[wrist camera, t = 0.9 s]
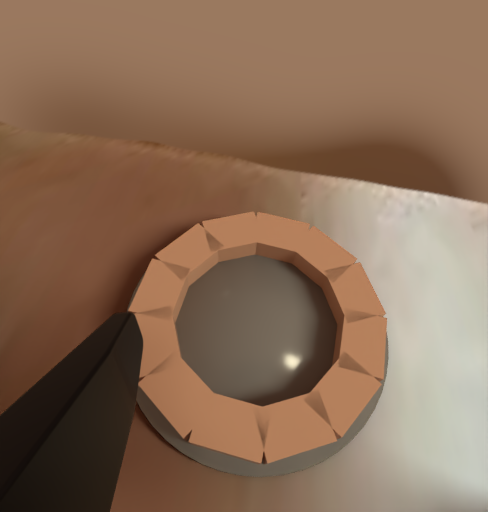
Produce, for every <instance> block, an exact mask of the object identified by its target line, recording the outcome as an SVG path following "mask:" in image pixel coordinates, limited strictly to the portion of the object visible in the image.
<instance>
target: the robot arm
mask: <svg viewBox="0 0 488 512" xmlns="http://www.w3.org/2000/svg"><path fill="white" fill-rule="evenodd" d="M142 353H143V337H142V334H141V331H140V328H139V325H138V322H137V319H136V316H135V315H134V313H132V312H120V313H115V314H113V315H112V316H111V317H110V318H109V319H108V320H106V321H105V322H104V323H103V324H102V325H101V326H100V327H99V328H97V329H96V330H95V331H94V332H93V333H92V334H91V335H90V336H88V337H87V338H86V339H85V340H84V341H83V342H82V343H81V344H79V345H78V346H77V347H76V348H75V349H74V350H73V351H72V352H71V353H69V354H68V355H67V356H66V357H65V358H64V359H63V360H62V361H60V362H59V363H58V364H57V365H56V366H55V367H54V368H53V369H51V370H50V371H49V372H48V373H47V374H46V375H45V376H44V377H42V378H41V379H40V380H39V381H38V382H37V383H36V384H35V385H34V386H32V387H31V388H30V389H29V390H28V391H27V392H26V393H25V394H23V395H22V396H21V397H20V398H19V399H18V400H17V401H16V402H14V403H13V404H12V405H11V406H10V407H9V408H8V409H7V410H5V411H4V412H3V413H2V414H1V415H0V512H110V509H111V505H112V501H113V497H114V493H115V489H116V484H117V480H118V476H119V472H120V468H121V464H122V460H123V456H124V452H125V448H126V444H127V440H128V436H129V432H130V428H131V424H132V420H133V415H134V411H135V406H136V399H137V392H138V384H139V376H140V369H141V361H142Z"/></svg>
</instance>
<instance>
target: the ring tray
mask: <svg viewBox="0 0 488 512" xmlns="http://www.w3.org/2000/svg"><path fill="white" fill-rule="evenodd" d="M309 225H310V224H308V223H304V222H299V221H295V220H291V219H287V218H283V217H278V216H274V215H270V214H266V213H261V212H258V214H257V217H256V216H255V214H254V212H249V213H244V214H238V215H233V216H228V217H223V218H217V219H212V220H207V221H202V226H203V227H202V226H201V225H200V224H199V223H198V224H196V225H195V226H194V227H192V228H191V229H189V230H188V231H187V232H185V233H184V234H183V235H181V236H180V237H179V238H177V239H176V240H175V241H173V242H172V243H171V244H169V245H168V246H166V247H165V248H164V249H162V250H161V251H160V252H158V253H157V254H156V255H155V257H156V259H152V260H151V262H150V264H149V266H148V268H147V270H146V272H145V273H144V275H143V276H142V277H141V279H140V281H139V283H138V285H137V287H136V288H135V290H134V292H133V295H132V298H131V300H130V303H129V305H128V309H127V312H132V313H134V315H135V316H136V319H137V322H138V325H139V328H140V331H141V334H142V337H143V353H142V361H141V369H140V376H139V384H138V392H137V399H136V401H137V403H138V405H139V407H140V409H141V410H142V412H143V413H144V415H145V416H146V417H147V419H148V420H149V422H150V423H151V425H152V426H153V427H154V428H155V429H156V430H157V431H158V432H159V433H160V434H161V435H162V436H163V438H164V439H165V440H166V441H168V442H169V443H170V444H171V445H173V446H174V447H175V448H177V449H178V450H179V451H180V452H182V453H183V454H185V455H186V456H188V457H190V458H192V459H193V460H195V461H197V462H199V463H201V464H203V465H205V466H208V467H211V468H213V469H216V470H218V471H222V472H226V473H231V474H235V475H240V476H253V477H267V476H278V475H285V474H289V473H293V472H297V471H301V470H304V469H307V468H309V467H311V466H314V465H316V464H318V463H321V462H322V461H324V460H326V459H327V458H329V457H331V456H332V455H334V454H335V453H337V452H338V451H340V450H341V449H342V448H343V447H344V446H345V445H347V444H348V443H349V442H350V441H351V440H352V439H353V438H354V437H355V436H356V435H357V434H358V432H359V431H360V430H361V429H362V428H363V427H364V425H365V424H366V422H367V421H368V419H369V418H370V416H371V414H372V413H373V411H374V409H375V407H376V405H377V403H378V400H379V398H380V396H381V393H382V390H383V386H384V382H385V379H386V374H387V365H388V338H387V332H386V326H387V318H384V317H383V316H384V315H385V314H386V313H385V311H384V309H383V307H382V305H381V303H380V301H379V299H378V297H377V295H376V293H375V291H374V289H373V287H372V285H371V283H370V281H369V279H368V277H367V275H366V273H365V271H364V269H363V267H362V265H361V263H355V262H356V260H357V258H355V257H354V256H353V255H351V254H350V253H349V252H347V251H346V250H345V249H343V248H342V247H341V246H340V245H338V244H337V243H336V242H334V241H333V240H332V239H330V238H329V237H328V236H326V235H325V234H324V233H322V232H321V231H320V230H319V229H317V228H316V227H315V226H313V227H312V228H311V229H310V230H309ZM354 263H355V264H354Z"/></svg>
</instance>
